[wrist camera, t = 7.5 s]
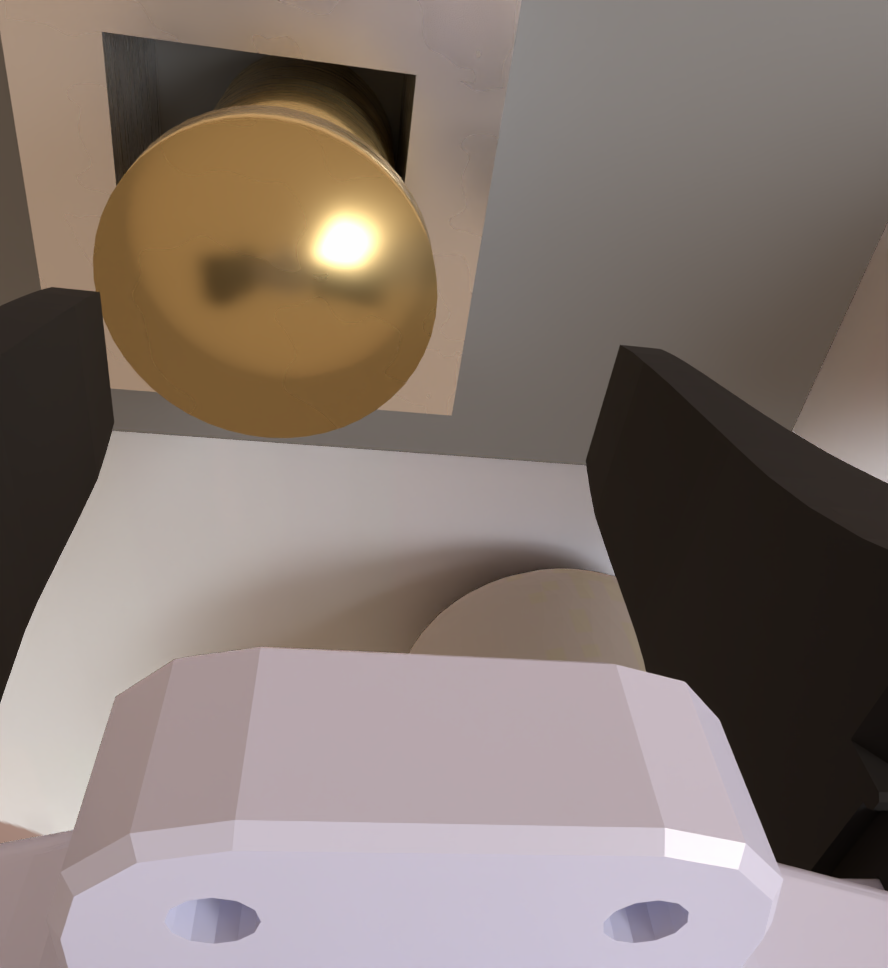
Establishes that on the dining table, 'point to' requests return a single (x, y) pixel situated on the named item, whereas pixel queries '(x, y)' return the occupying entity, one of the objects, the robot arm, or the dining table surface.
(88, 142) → the block
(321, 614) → the dining table surface
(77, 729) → the dining table surface
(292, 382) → the brass door knob
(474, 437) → the mat
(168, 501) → the dining table surface
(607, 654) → the teacup
